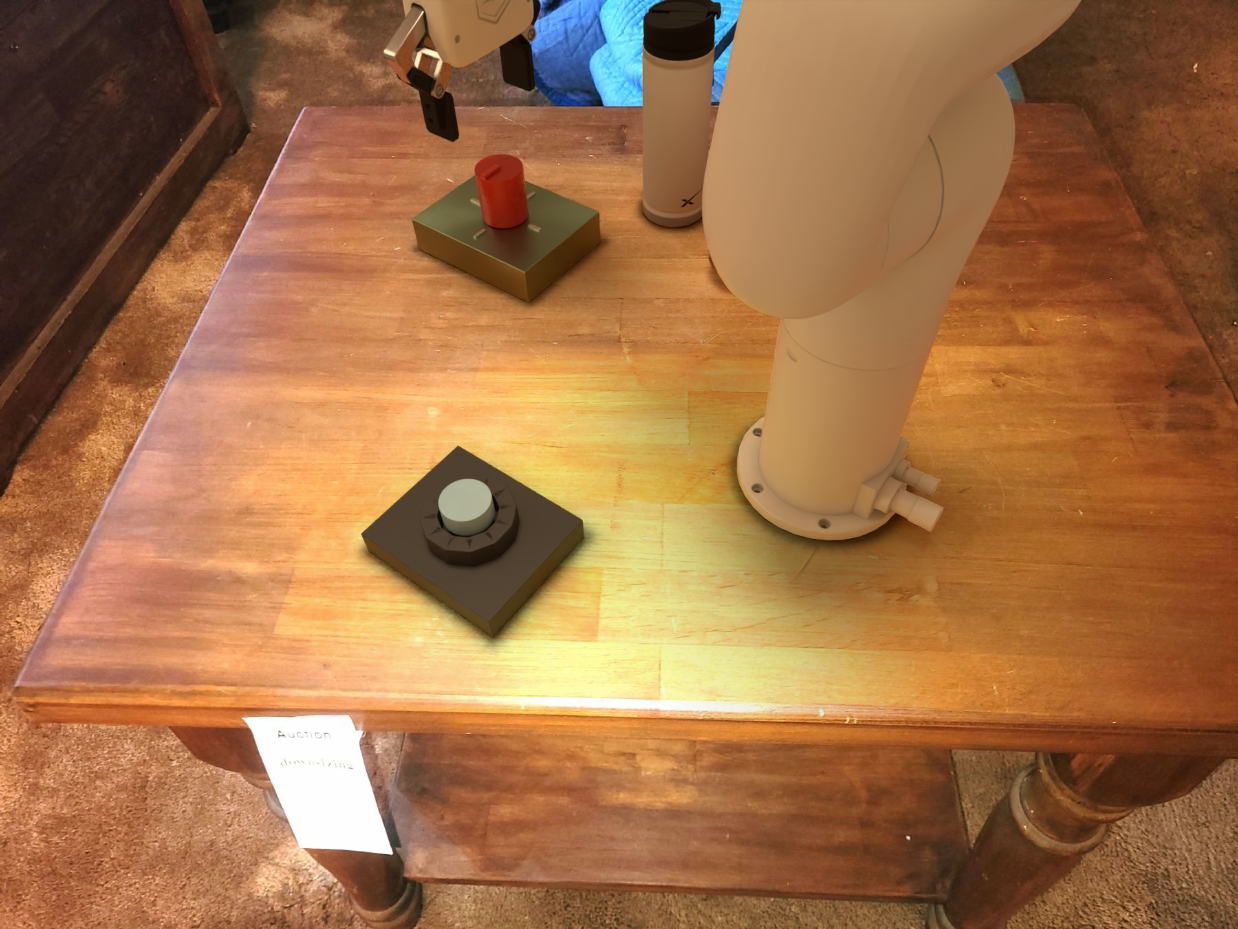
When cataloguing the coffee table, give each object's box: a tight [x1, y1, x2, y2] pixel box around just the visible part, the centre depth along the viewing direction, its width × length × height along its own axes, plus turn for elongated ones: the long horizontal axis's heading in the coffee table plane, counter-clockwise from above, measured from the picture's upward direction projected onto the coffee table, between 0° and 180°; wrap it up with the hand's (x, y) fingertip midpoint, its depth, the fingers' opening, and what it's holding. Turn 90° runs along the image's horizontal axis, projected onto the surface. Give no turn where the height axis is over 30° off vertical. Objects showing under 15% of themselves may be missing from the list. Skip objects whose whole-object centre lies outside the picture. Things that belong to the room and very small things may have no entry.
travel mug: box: [641, 0, 722, 228], centre depth 81 cm, size 6×7×20 cm
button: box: [438, 479, 495, 536], centre depth 60 cm, size 4×4×2 cm
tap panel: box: [411, 174, 602, 303], centre depth 84 cm, size 14×11×4 cm
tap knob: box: [473, 153, 529, 228], centre depth 81 cm, size 4×4×5 cm
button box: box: [360, 445, 585, 639], centre depth 62 cm, size 12×10×4 cm
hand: (482, 109), depth 75 cm, fingers open, 9 cm apart
